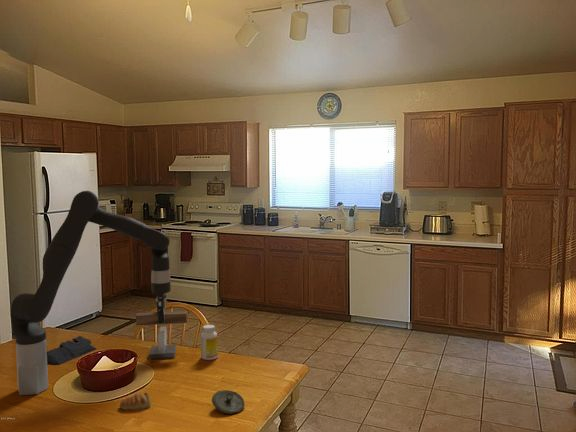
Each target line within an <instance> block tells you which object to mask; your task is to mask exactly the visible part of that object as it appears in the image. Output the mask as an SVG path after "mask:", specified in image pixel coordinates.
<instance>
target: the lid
mask: <svg viewBox="0 0 576 432" xmlns="http://www.w3.org/2000/svg"><path fill="white" fill-rule="evenodd" d="M211 403H212V405H213V406H214V408H215V409H216V410H217V411H219V412H221V413H223V414H225V415H234V414H235V415H236V414H239V413H241V411H243V410H244V408H245V400H244V398H243V397H242V395H240V393H238V392H236V391H233V390H228V389H227V390H217V391H216V392H215V393H213V395H212V398H211Z"/></svg>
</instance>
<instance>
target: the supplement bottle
mask: <svg viewBox="0 0 576 432" xmlns="http://www.w3.org/2000/svg"><path fill="white" fill-rule="evenodd" d="M202 330H203V332H201V334H200V356H201V359H202V360H205V361H211V360H215V359H217V358H218V356H219V355H218V354H219V351H218V350H219V348H218V347H219V345H218V333H217V331H215V330H216V327H215V325H214V324H206V325H203V326H202Z"/></svg>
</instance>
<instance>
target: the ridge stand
mask: <svg viewBox="0 0 576 432" xmlns="http://www.w3.org/2000/svg"><path fill="white" fill-rule="evenodd" d="M157 338H158V339H157V341H158V342H157V343H158V345H151V347H150V349H149V353H148V360H157V359H174V358H176V351H177V344H168V342H167V341H168V339H167V326H160V327H159V331H158V334H157Z"/></svg>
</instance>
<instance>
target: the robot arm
mask: <svg viewBox="0 0 576 432" xmlns="http://www.w3.org/2000/svg"><path fill="white" fill-rule="evenodd" d="M88 223H92V224H96V225H98V226H99V225H100V226H102V227H104V228H105V227H106V228H108V229H111V230H114V231H116V232H118V233H121V234H123V235H125V236H128V237H130V238H131V239H134V240H137V241H138V242H139V241H140V242H142V243H143V244H145V245H146V246H149V247H150V251H151V275H150V277H151V278H150V279H151V280H150V281H151V293H152V294H156V297H155V302H156V303H155V304H156V312H157V314H158V323H159V324H158V325H164V324H163V323H164V312H166V308H167V300H168V299H167V298H168V297H167V294H168V293H170V292H171V271H170V258H169V246H170V243H171V242H170V241H171V240H170V237H169V236H168V235H167V234H166V233H165V232H164V231H162V230H161V231H159V230H157V229H154V228H152V227H150V226H148V225H147V224H146V223H144V222H143V221H142V222H141V221H140V220H137V219H135V218H133V217H129V216H126V215H121V214H116V213H112V212H110V211H107V210H104V209H103V208H101V207H99V198H98V196H97V195H96V194H95V193H94V192H92V191H91V190H82V191H80V192H78V193H77V194H76V195H75V196H73V199H72V201H71V204H70V208H69V211H68V213H67V214H66V218H65V219H64V221H63V223H62V224H61V225H60V227H59V228H58V230H57V231H56V232H55V234H54V236H53V238H52V239H51V241H50V242H49V244H48V247H47V248H46V250H45V252H44V254H43V257H42V278H41V282H40V285H38V288H37V290H36V292H35V293H20V294H18V295H16V296H15V297H14V298H13V300H12V302H11V306H10V321H11V330H12V334H13V337H14V338H15V351H16V354H15V355H16V373H17V374H16V375H17V390H18V396H28V395H39V394H40V393H41V392H44V391H46V390H47V389H48V388H49V375H48V372H49V369H48V362H47V351H48V350H47V348H48V347H47V332H46V330H45V329H44V328H43V327H42V326H41V325H40V324H39V323H40V322H42V321H44V320H45V319H46V318H47V317H48V315H49V313H50V311H51V309H52V307H53V304H54V302H55V298H56V297H57V293H58V291H59V288H60V286H61V284H62V281H63V279H64V277H65V275H66V273H67V270H68V268H69V267H70V264H71V263H72V261H73V259H74V257H75V255H76V253H77V251H78V248H79V245H80V243H81V240H82V237H83V234H84V231H85V228H86V227H87V224H88Z"/></svg>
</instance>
